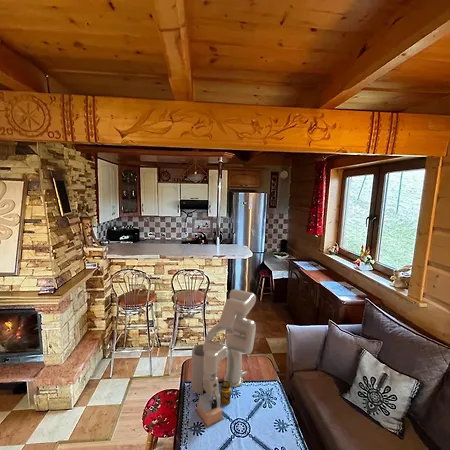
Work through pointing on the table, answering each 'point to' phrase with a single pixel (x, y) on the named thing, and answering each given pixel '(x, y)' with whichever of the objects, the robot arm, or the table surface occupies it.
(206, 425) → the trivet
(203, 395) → the brick
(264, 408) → the table surface
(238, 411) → the table surface
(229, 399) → the condiment
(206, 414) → the brick
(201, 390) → the cylinder vase
